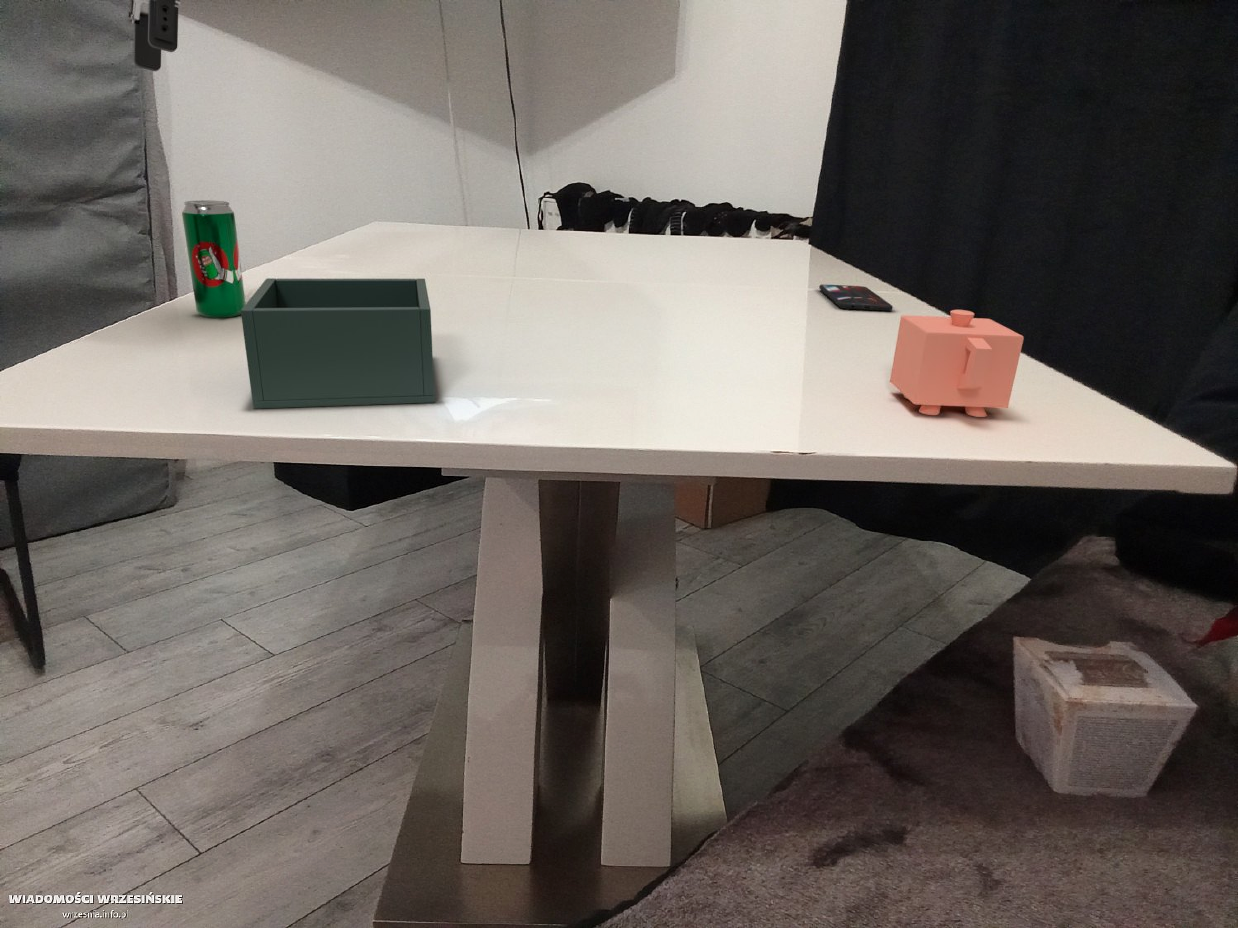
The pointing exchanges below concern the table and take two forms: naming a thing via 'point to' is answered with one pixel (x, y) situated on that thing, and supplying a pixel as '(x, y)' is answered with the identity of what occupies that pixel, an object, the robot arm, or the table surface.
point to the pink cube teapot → (955, 362)
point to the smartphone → (855, 297)
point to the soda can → (214, 258)
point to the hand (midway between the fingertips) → (154, 59)
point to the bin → (339, 342)
